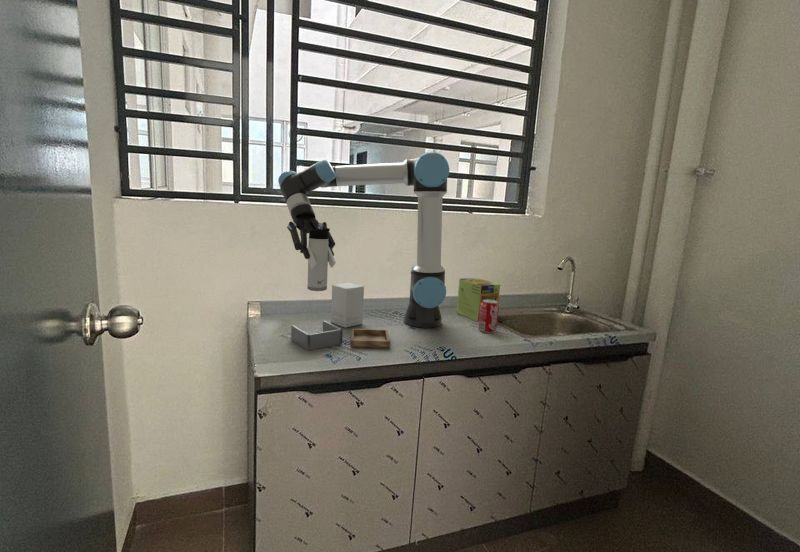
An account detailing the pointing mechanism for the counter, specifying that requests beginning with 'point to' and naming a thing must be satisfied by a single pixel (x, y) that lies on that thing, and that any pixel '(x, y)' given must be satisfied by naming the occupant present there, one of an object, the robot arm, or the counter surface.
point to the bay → (317, 337)
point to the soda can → (488, 315)
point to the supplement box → (347, 304)
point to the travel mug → (318, 259)
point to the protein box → (475, 296)
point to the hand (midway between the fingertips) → (323, 265)
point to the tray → (370, 338)
